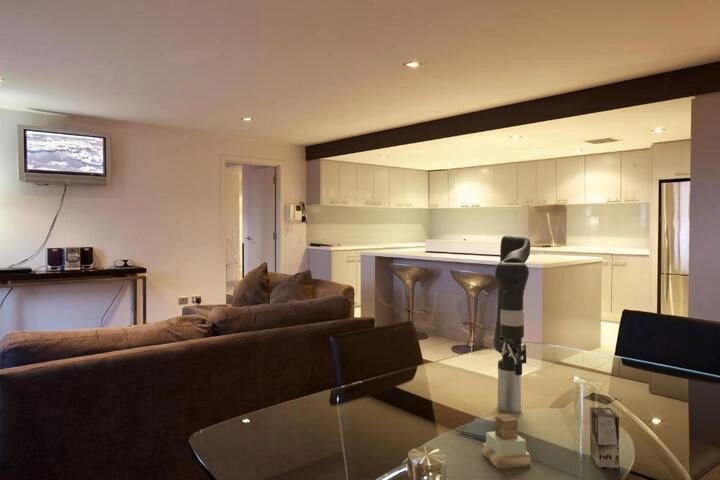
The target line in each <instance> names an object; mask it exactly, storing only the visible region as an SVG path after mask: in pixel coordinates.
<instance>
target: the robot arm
mask: <svg viewBox="0 0 720 480" xmlns="http://www.w3.org/2000/svg"><path fill="white" fill-rule="evenodd" d="M500 240H501V241H500V248H499V249H500V251H499V252H500V255H499V256H500V260H499V263H498V264H497V266H496V267H495V271H494V276H495V279H496V280H497V282H498V290H497V291H498V292H497V309H496V310H497V313H496V314H497V315H496V320H495V321H496V322H495V328H494V335H493V337H494V338H493V346H494V350H495V351H496V352H497V353H499V354H500V355H501V357H502V359H499V360H498V361H497V362H498V363H497V409H498V410H500V411H501V412H505V413H508V414H510V413H511V414H515V413H519V412H522V411H521V410H522V375H523V365H524V364H527V346H526V344H523V343H522V342H523V340H522V339H523V338H524V336H525V314H524V294H525V289H526V285H527V282H528V278H529V276H530V271H529V267H528V265H527V264H525V263H526V262H527V260H528V259H529V257H530V253H531V241H530V239H529V237H525V236H520V235H518V236H517V235H504V236H503V237H502V238H501V239H500Z"/></svg>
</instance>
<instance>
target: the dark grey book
mask: <svg viewBox="0 0 720 480" xmlns="http://www.w3.org/2000/svg"><path fill="white" fill-rule="evenodd" d="M473 420H474V421H473ZM473 420H472V421H473V422H472V421H471V422H472V423H470V422H469V423H470V424H469V423H468V424H469V425H468V424H467V425H468V426H467V425H466V426H467V427H466V426H465V427H466V428H465V427H463V428H462V429H463V431H461V430H460V431H461V433H460V434H461V435H463V436H467V437H472V438H474V439H473V440H475V439H476V440H475V441H480V442H482V443H486V432H494V431H495V420H489V419H485V418H479V417H475V418H474V419H473Z"/></svg>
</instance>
